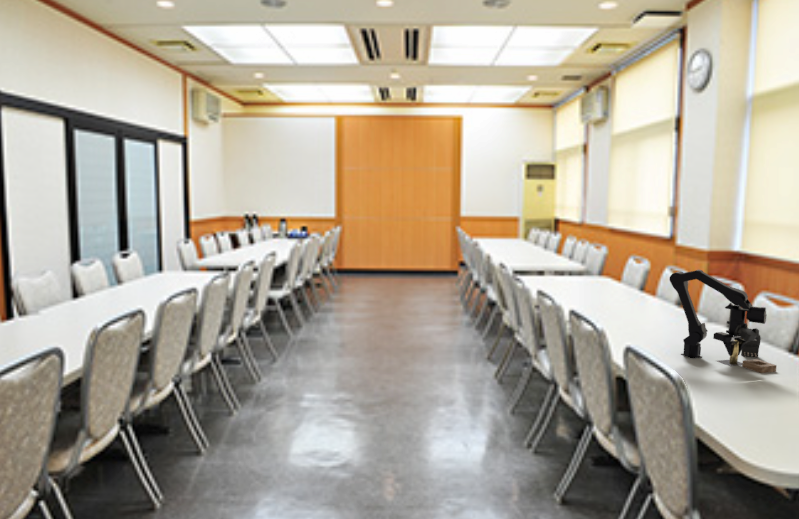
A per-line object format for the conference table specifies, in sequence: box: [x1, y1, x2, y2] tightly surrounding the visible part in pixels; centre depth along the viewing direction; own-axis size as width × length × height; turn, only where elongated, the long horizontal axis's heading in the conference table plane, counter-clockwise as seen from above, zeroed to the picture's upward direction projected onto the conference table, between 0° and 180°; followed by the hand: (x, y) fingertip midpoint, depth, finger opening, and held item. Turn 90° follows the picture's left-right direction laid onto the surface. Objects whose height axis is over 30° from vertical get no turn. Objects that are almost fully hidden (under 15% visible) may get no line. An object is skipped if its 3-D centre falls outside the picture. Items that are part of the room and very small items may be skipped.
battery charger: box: [740, 334, 762, 359], centre depth 257 cm, size 7×4×11 cm, turn 68°
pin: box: [729, 340, 739, 364], centre depth 246 cm, size 3×3×10 cm
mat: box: [716, 359, 743, 367], centre depth 247 cm, size 9×8×1 cm
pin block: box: [741, 358, 777, 374], centre depth 239 cm, size 8×9×3 cm
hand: (733, 355), depth 246 cm, fingers open, 4 cm apart
